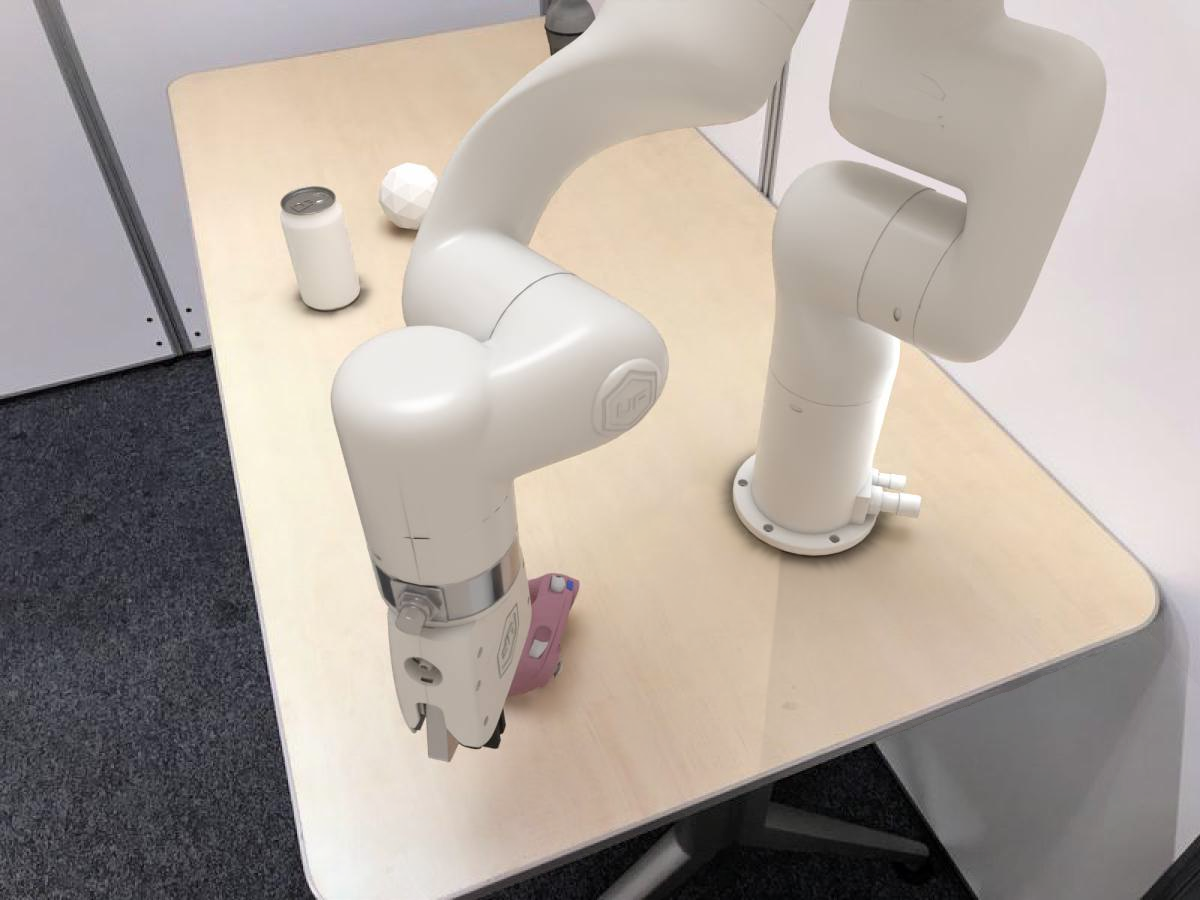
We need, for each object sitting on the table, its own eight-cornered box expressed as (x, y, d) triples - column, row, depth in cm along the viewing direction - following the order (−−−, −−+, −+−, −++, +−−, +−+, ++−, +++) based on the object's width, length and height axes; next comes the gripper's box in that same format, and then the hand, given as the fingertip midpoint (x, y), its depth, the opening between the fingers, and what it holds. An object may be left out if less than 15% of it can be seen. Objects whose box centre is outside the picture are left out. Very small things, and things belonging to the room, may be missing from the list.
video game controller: (530, 718, 72) (568, 679, 67) (474, 694, 71) (509, 653, 67) (560, 611, 79) (596, 569, 74) (510, 588, 78) (543, 544, 73)
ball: (428, 234, 122) (454, 176, 120) (427, 247, 115) (455, 185, 112) (371, 207, 120) (397, 147, 117) (366, 218, 112) (393, 155, 110)
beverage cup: (597, 117, 138) (595, -31, 124) (546, 117, 138) (539, -31, 124) (598, 94, 143) (596, -50, 129) (549, 95, 144) (542, -50, 129)
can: (372, 294, 108) (352, 198, 100) (325, 320, 105) (299, 223, 97) (338, 271, 111) (315, 177, 103) (290, 296, 108) (263, 200, 100)
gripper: (469, 689, 44) (500, 860, 56) (555, 461, 54) (564, 649, 67) (315, 658, 45) (379, 832, 58) (428, 440, 55) (461, 629, 68)
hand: (478, 733), depth 62 cm, fingers closed
